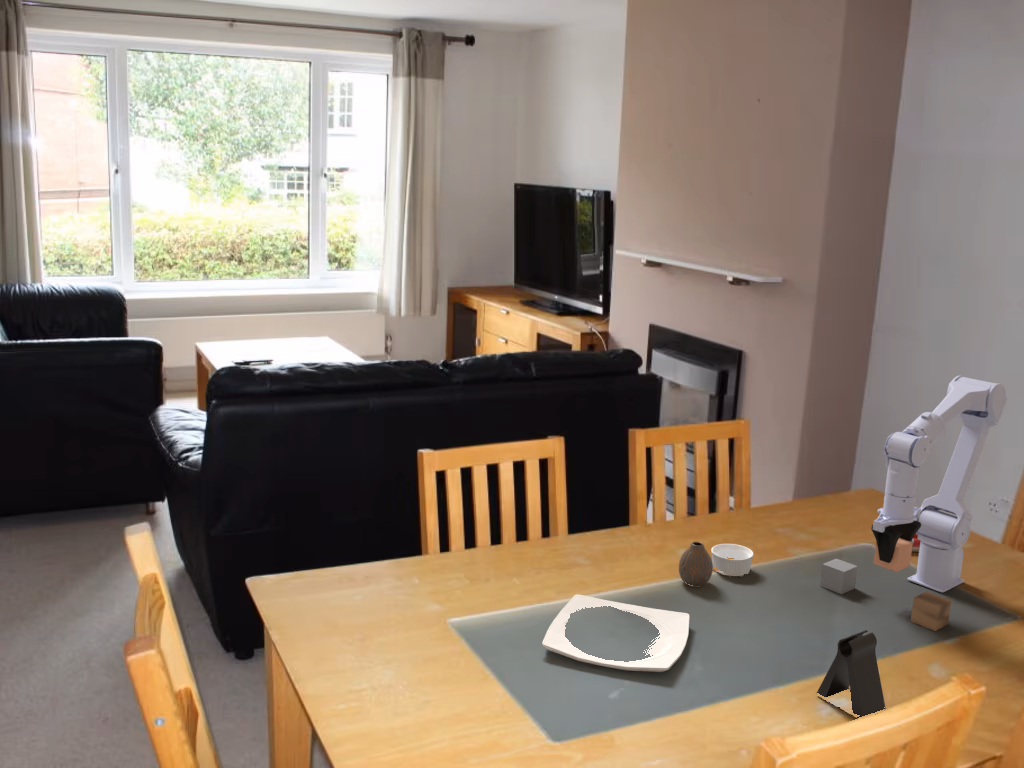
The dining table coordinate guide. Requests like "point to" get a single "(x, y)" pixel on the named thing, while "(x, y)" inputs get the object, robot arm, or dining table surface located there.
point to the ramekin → (732, 566)
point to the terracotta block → (896, 556)
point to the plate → (667, 622)
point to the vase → (695, 565)
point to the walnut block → (931, 611)
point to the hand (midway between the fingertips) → (892, 557)
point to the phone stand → (856, 674)
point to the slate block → (838, 576)
